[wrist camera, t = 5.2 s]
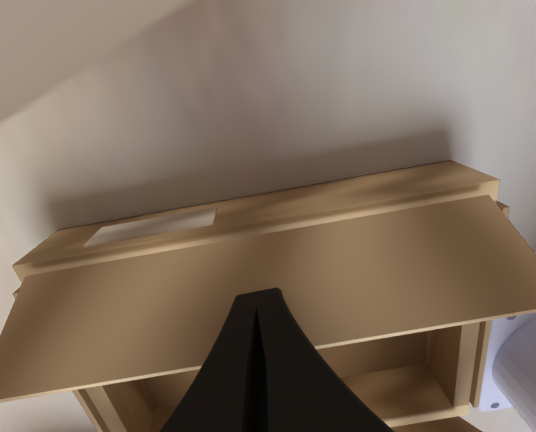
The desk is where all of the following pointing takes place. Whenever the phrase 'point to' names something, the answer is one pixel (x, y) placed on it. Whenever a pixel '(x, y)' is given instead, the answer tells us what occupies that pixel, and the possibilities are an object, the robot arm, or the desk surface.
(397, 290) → the flap near
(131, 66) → the desk surface
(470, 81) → the desk surface
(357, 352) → the carton
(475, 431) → the flap far
